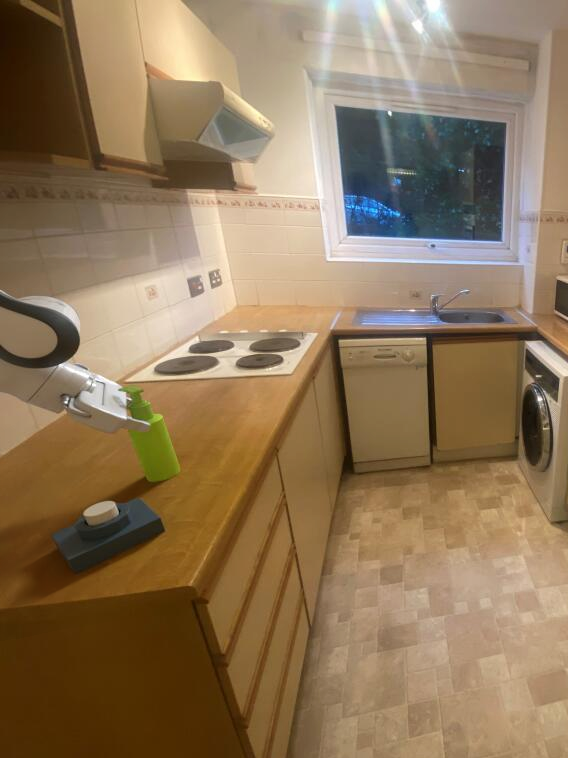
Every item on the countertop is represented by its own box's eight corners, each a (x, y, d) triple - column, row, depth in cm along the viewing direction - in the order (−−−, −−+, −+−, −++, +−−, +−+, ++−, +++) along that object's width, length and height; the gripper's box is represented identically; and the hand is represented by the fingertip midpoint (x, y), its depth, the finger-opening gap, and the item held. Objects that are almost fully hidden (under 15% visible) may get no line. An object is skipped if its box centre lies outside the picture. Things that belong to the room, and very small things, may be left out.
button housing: (75, 574, 68) (63, 550, 66) (57, 548, 73) (45, 524, 71) (165, 531, 77) (156, 508, 75) (144, 510, 82) (135, 488, 80)
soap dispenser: (167, 462, 97) (138, 380, 89) (186, 470, 94) (158, 385, 87) (137, 476, 92) (104, 390, 84) (157, 484, 90) (124, 396, 82)
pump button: (92, 529, 71) (87, 519, 70) (84, 520, 73) (79, 510, 72) (122, 516, 74) (118, 506, 73) (114, 507, 76) (110, 497, 75)
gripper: (71, 391, 73) (161, 425, 82) (79, 361, 87) (155, 393, 97) (44, 422, 72) (138, 453, 81) (57, 386, 86) (136, 416, 96)
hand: (147, 420), depth 89 cm, fingers open, 8 cm apart
